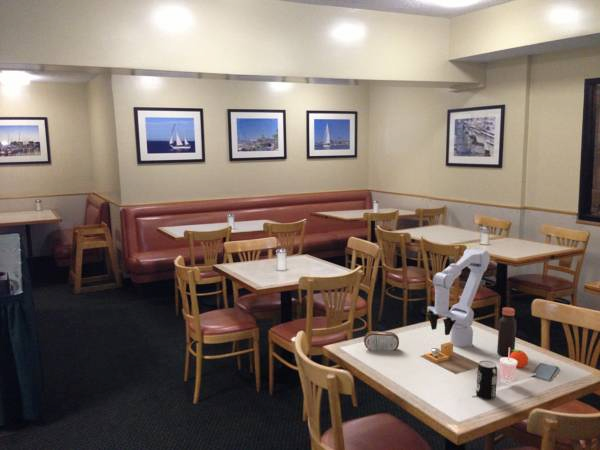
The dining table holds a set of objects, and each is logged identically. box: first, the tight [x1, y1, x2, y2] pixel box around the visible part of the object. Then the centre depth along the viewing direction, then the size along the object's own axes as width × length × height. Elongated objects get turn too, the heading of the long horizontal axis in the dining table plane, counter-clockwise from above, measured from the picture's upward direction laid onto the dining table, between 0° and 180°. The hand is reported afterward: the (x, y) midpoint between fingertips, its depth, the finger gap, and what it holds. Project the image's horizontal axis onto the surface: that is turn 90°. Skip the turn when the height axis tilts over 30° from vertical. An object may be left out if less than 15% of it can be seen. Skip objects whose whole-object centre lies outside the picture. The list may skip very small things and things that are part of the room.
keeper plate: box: [419, 350, 479, 375], centre depth 214 cm, size 16×20×1 cm
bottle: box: [496, 306, 517, 357], centre depth 222 cm, size 7×7×20 cm
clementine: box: [509, 349, 529, 369], centre depth 210 cm, size 8×7×7 cm
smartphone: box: [530, 362, 560, 382], centre depth 205 cm, size 7×1×15 cm
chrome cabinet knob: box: [430, 347, 441, 358], centre depth 216 cm, size 3×3×4 cm
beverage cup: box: [499, 347, 517, 387], centre depth 194 cm, size 6×6×14 cm
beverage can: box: [475, 360, 499, 400], centre depth 184 cm, size 7×7×12 cm
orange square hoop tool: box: [423, 341, 454, 363], centre depth 217 cm, size 12×7×5 cm, turn 120°
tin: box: [363, 330, 400, 351], centre depth 225 cm, size 15×3×8 cm, turn 84°
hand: (440, 331), depth 223 cm, fingers open, 7 cm apart
